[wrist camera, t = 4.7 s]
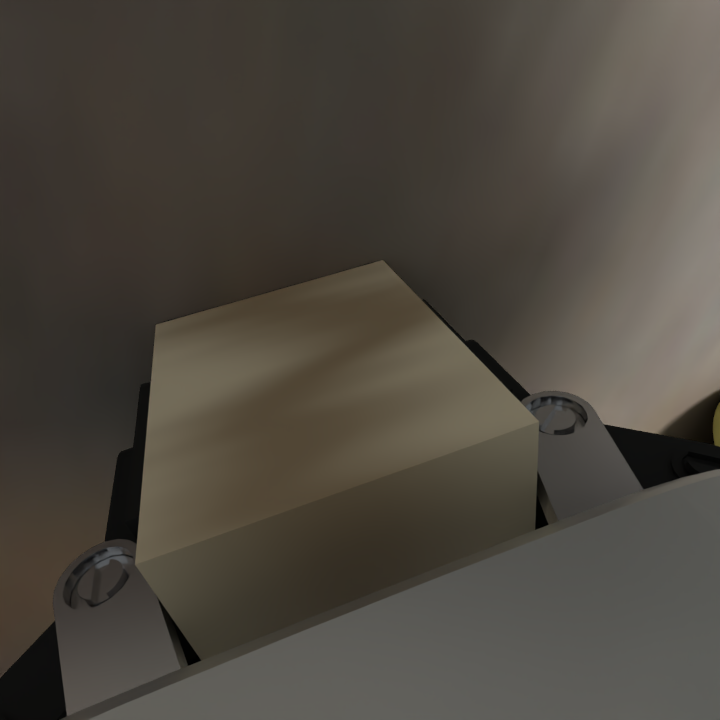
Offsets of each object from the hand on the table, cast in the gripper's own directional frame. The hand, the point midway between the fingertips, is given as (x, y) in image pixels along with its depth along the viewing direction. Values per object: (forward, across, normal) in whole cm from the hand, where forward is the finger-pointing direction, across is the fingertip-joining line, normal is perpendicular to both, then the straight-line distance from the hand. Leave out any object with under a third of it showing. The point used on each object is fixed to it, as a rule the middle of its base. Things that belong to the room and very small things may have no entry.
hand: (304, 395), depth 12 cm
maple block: (+1, 0, 0) cm, 1 cm away
